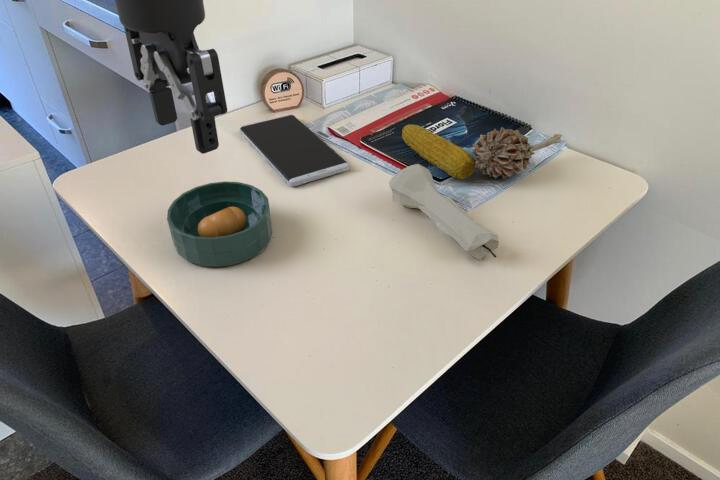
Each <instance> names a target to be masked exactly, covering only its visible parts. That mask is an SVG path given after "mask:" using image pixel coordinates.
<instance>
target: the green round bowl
mask: <svg viewBox="0 0 720 480" xmlns="http://www.w3.org/2000/svg"><path fill="white" fill-rule="evenodd" d="M228 207H238V208H240V209H241V210H242V211H243V212H244V213H245V216H246V224H245V226H244V228H243V229H242V230H240V231H239V232H237V233H234V234H231V235H228V236H221V237H213V238H210V237H200V236H199V234H198V225H199V223H200V221H201V220H202V219H204V218H205V217H207V216H210V215H212V214H214V213H216V212H218V211H221V210H223V209H225V208H228ZM166 221H167V225H168V228H169V232H170V235H171V240H172V242H173V246H174V248H175V251H176V252H177V254H178V255H179V256H180V257H181V258H182V259H184V260H185V261H187V262H188V263H191V264H195V265H198V266H201V267H212V268H213V267H215V268H220V267H226V266H234V265H237V264H239V263H243V262H246V261H249V260H250V259H252V258H253V257H255V256H256V255H258V254H260V253H261V252H262V251H264V249H265V248H266V247H267V246H268V245H269V244H270V241H271V239H272V236H273V225H272V216H271V207H270V202H269V197H268V196H267V195H266V194H265V192H264V191H262V190H261V189H260V188H258V187H256V186H254V185H252V184H249V183H245V182H240V181H217V182H216V181H215V182H209V183H206V184H202V185H197V186H195V187H193V188H191V189H189V190H187V191H185V192H183V193H181V194H179V196H178V197H176V198H175V199H174V200H173V201H172V202H171V204H170V206H169V207H168V209H167V214H166Z"/></svg>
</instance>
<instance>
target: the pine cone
mask: <svg viewBox="0 0 720 480" xmlns="http://www.w3.org/2000/svg"><path fill="white" fill-rule="evenodd" d="M562 137H563V135H562V133H554V134H553V135H552V136H551V137H549V138H547V139H545V140H544V141H540V142H538V143H535V144H533V145H532V144H531V143H530V142H529V141H528V140H529V137H527V136H526V135H524V134H521V133H520V131H519V130H518V129H516V130H513V129H512V128H510V129H509V128H507V129H506V128H504V127H503V126H501V128H500V130H497V129H496V128H494V129H493V130H492V131H489V132H486V134H480V135H479V139H476V142H475V143H472V147H473V149H471V150H470V152H469V153H472V155H473V158H474V162H475V168H478V172H481V173H482V175H489V177H490V178H495V179H498V178H499V176H501V177H502V179H506V178H507V177H512V176H514V175H515V174H520V172H521V170H522V169H524V170H527V169H528V166H531V165H532V164H531V161H530V159H532V158H533V157H532V156H533V155H535V154H536V153H535V152H536V151H539V150H542V149H543V148H548V147H550V146H552V145H554V144H558V143H560V144H562V143H563V142H562V140H561V138H562Z"/></svg>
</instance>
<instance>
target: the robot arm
mask: <svg viewBox="0 0 720 480" xmlns="http://www.w3.org/2000/svg"><path fill="white" fill-rule="evenodd" d="M114 2H115V7H116V11H117V15H118V18H119V22H120V24H121V25H122V27H123V29H124V33H125V38H126V42H127V46H128V51H129V55H130V60H131V65H132V67H133V68H132V69H133V74H134V77H135V78H136V80H137V81H139V82H140V81H142V82H143V87H144V89H145V90H146V91H147V92H148V93H149V99H150V103H151V106H152V111H153V116H154V119H155V122H156V123H157V124H158V125H159V126H163V127H164V126H167V125H171V124H174V123H175V122H176V121H177V120H178V114H177V109H176V105H175V100H174V96H175V98H177V99H179V100H181V101H182V102H183V103H184V106H185V109H186V110H187V112H188V114H189V116H190V124H191V125H190V126H191V129H192V130H191V131H192V134H193V139H194V145H195V149H196V151H197V152H199V153H200V154H207V153H210V152H212V151H215V150H218V148H219V146H220V143H219V136H218V131H217V124H216V117H218V116H220V115H225V114H227V113H228V105H227V100H226V93H225V88H224V83H223V76H222V70H221V66H220V59H219V55H218V52H217V51H216V49H215V48H210V49H203V50H202V49H200V48H199V45H198V43H197V40H196V36H195V30H196V28H197V27H198V26H199V25H201V24H202V23H203V22H204V21H205V19H206V10H205V5H204V0H114ZM190 83H191V84H190ZM212 93H213V94H212ZM193 96H194V98H193ZM213 96H214V97H213Z"/></svg>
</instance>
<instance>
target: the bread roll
mask: <svg viewBox="0 0 720 480" xmlns="http://www.w3.org/2000/svg"><path fill="white" fill-rule="evenodd" d="M245 224H246V216H245V213H244V212H243V211H242V210H241V209H240V208H238V207H228V208H225V209H223V210H221V211H218V212H216V213H214V214H212V215H210V216H207V217H205V218H204V219H202V220H201V221H200V223H199V225H198V234H199V236H200V237H210V238H213V237H221V236H228V235H231V234H234V233H237V232H239V231H240V230H242V229H243V228H244V226H245Z"/></svg>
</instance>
